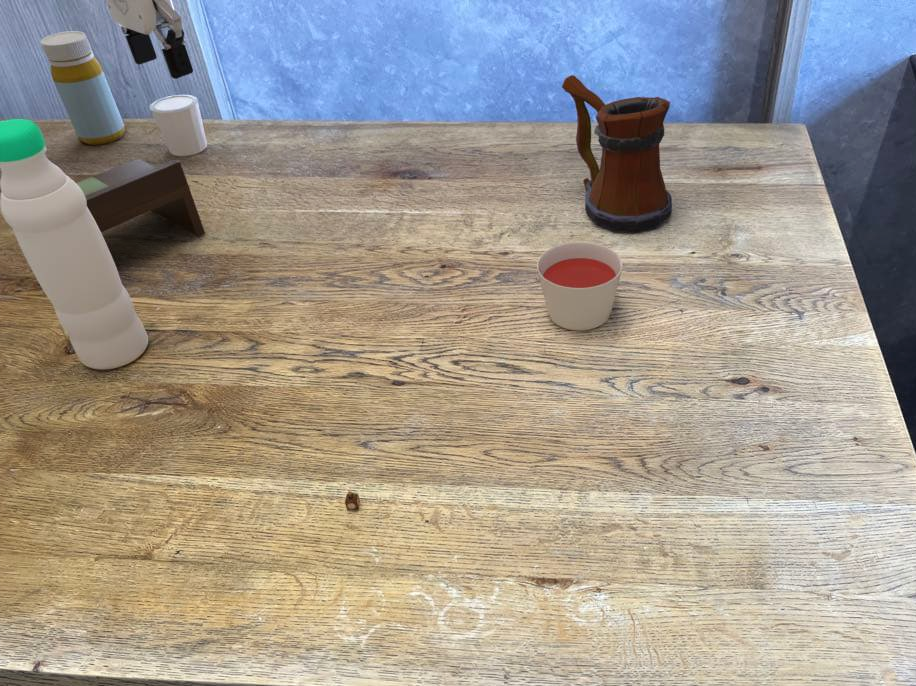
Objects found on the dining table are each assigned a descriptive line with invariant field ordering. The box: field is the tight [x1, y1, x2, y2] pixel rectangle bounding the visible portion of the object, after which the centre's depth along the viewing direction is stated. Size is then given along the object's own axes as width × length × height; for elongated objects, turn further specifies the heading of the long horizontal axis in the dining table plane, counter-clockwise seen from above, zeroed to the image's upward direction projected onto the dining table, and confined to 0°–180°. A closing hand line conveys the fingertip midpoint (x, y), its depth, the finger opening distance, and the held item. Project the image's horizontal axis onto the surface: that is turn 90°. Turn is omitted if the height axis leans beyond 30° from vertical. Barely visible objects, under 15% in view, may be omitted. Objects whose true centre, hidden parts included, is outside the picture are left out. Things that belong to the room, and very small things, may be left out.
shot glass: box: [149, 94, 208, 157], centre depth 123 cm, size 7×7×7 cm
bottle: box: [40, 30, 126, 146], centre depth 124 cm, size 7×7×15 cm
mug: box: [561, 74, 673, 233], centre depth 103 cm, size 18×12×15 cm, turn 38°
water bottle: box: [0, 118, 149, 371], centre depth 79 cm, size 7×7×25 cm
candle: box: [536, 241, 623, 331], centre depth 88 cm, size 9×9×6 cm
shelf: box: [75, 158, 206, 238], centre depth 101 cm, size 12×16×10 cm
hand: (164, 68), depth 117 cm, fingers open, 9 cm apart
